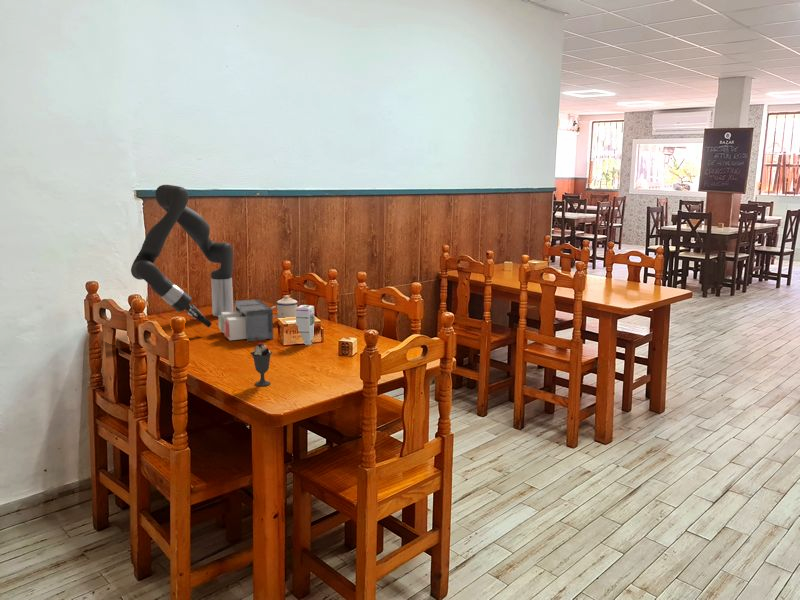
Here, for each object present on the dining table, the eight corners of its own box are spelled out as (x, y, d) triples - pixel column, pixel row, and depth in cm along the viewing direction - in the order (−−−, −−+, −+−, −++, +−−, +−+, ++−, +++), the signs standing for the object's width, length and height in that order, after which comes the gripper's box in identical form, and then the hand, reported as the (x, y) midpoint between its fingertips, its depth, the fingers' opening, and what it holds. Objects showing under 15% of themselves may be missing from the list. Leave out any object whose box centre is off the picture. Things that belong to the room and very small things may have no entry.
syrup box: (310, 345, 247) (309, 308, 244) (295, 344, 248) (295, 307, 246) (315, 341, 253) (314, 305, 250) (301, 340, 254) (300, 304, 251)
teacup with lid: (295, 318, 291) (295, 293, 289) (299, 323, 283) (299, 297, 280) (269, 320, 287) (268, 294, 285) (272, 325, 279) (271, 298, 277)
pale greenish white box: (219, 331, 265) (218, 312, 264) (241, 329, 269) (240, 310, 268) (221, 334, 261) (220, 314, 259) (244, 332, 265) (243, 313, 263)
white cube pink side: (224, 337, 256) (223, 317, 254) (247, 335, 260) (246, 316, 258) (226, 340, 251) (225, 320, 250) (250, 338, 255) (249, 318, 253)
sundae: (253, 380, 205) (251, 334, 202) (274, 380, 205) (273, 334, 203) (250, 387, 198) (248, 340, 196) (272, 387, 199) (270, 340, 196)
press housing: (235, 328, 272) (234, 300, 269) (259, 326, 276) (258, 298, 274) (247, 341, 251) (246, 311, 249) (273, 339, 256) (272, 309, 253)
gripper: (185, 293, 248) (219, 321, 256) (181, 287, 260) (213, 315, 267) (171, 308, 247) (206, 336, 254) (167, 301, 259) (201, 328, 266)
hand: (210, 325), depth 261 cm, fingers closed
